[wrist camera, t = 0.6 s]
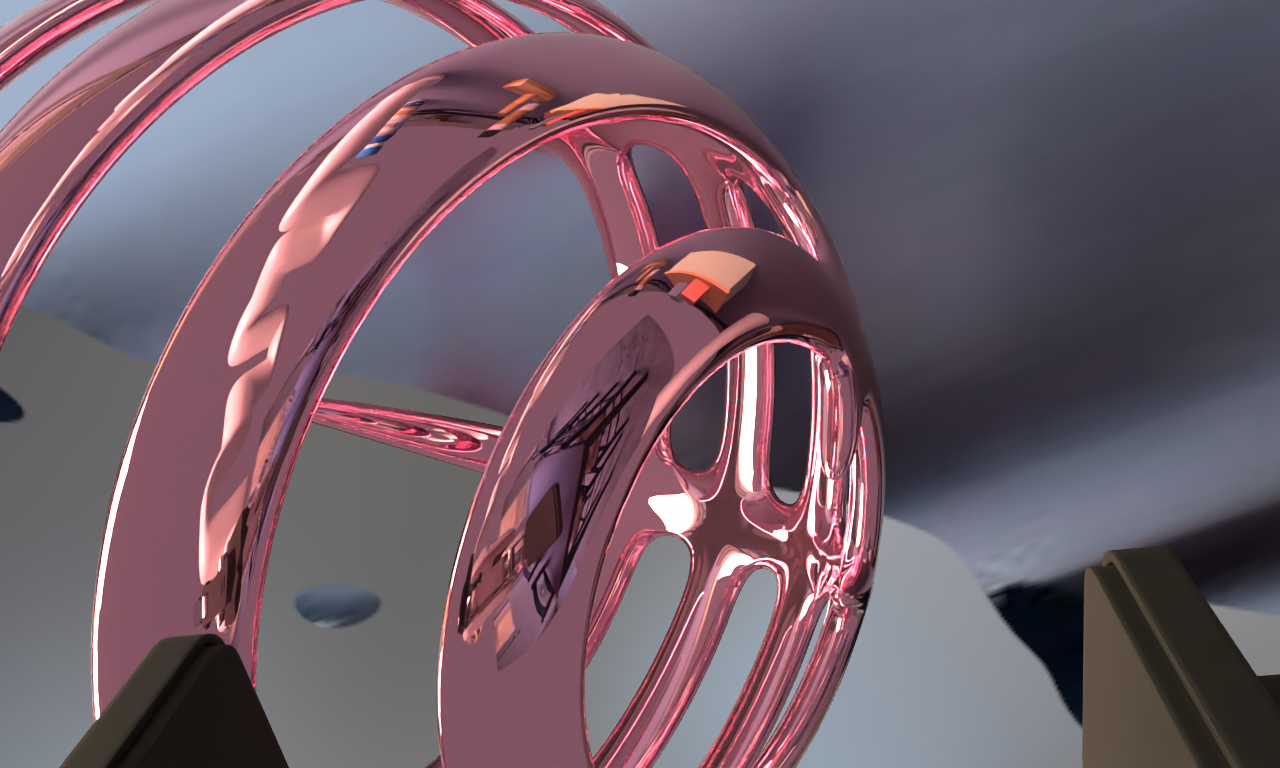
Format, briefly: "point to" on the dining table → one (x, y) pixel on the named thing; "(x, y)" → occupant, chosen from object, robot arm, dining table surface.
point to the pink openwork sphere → (547, 408)
